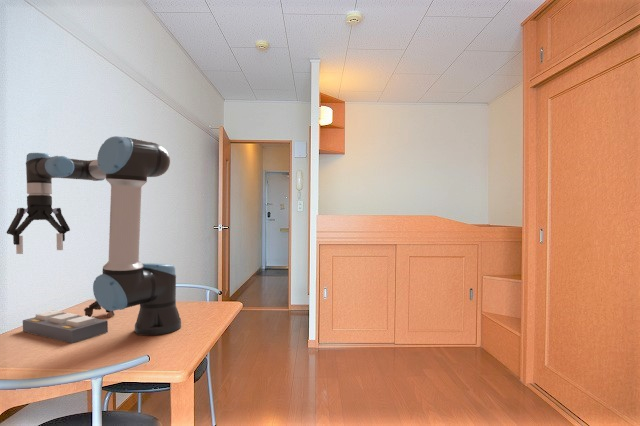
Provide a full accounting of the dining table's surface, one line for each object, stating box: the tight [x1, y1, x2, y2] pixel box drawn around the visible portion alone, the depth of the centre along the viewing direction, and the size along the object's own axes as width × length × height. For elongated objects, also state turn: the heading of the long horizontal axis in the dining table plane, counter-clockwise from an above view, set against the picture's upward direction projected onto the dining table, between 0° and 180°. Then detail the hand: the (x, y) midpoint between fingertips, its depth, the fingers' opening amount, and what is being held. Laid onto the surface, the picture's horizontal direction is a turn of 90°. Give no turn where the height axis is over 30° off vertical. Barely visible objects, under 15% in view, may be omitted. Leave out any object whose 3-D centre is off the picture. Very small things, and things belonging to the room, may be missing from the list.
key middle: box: [50, 312, 80, 324], centre depth 132 cm, size 6×6×3 cm
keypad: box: [22, 312, 109, 344], centre depth 132 cm, size 28×12×4 cm, turn 64°
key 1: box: [35, 310, 65, 321], centre depth 136 cm, size 6×6×3 cm
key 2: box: [66, 315, 96, 327], centre depth 128 cm, size 6×6×3 cm
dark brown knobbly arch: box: [83, 300, 115, 319], centre depth 151 cm, size 12×10×8 cm
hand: (40, 252), depth 142 cm, fingers open, 13 cm apart
